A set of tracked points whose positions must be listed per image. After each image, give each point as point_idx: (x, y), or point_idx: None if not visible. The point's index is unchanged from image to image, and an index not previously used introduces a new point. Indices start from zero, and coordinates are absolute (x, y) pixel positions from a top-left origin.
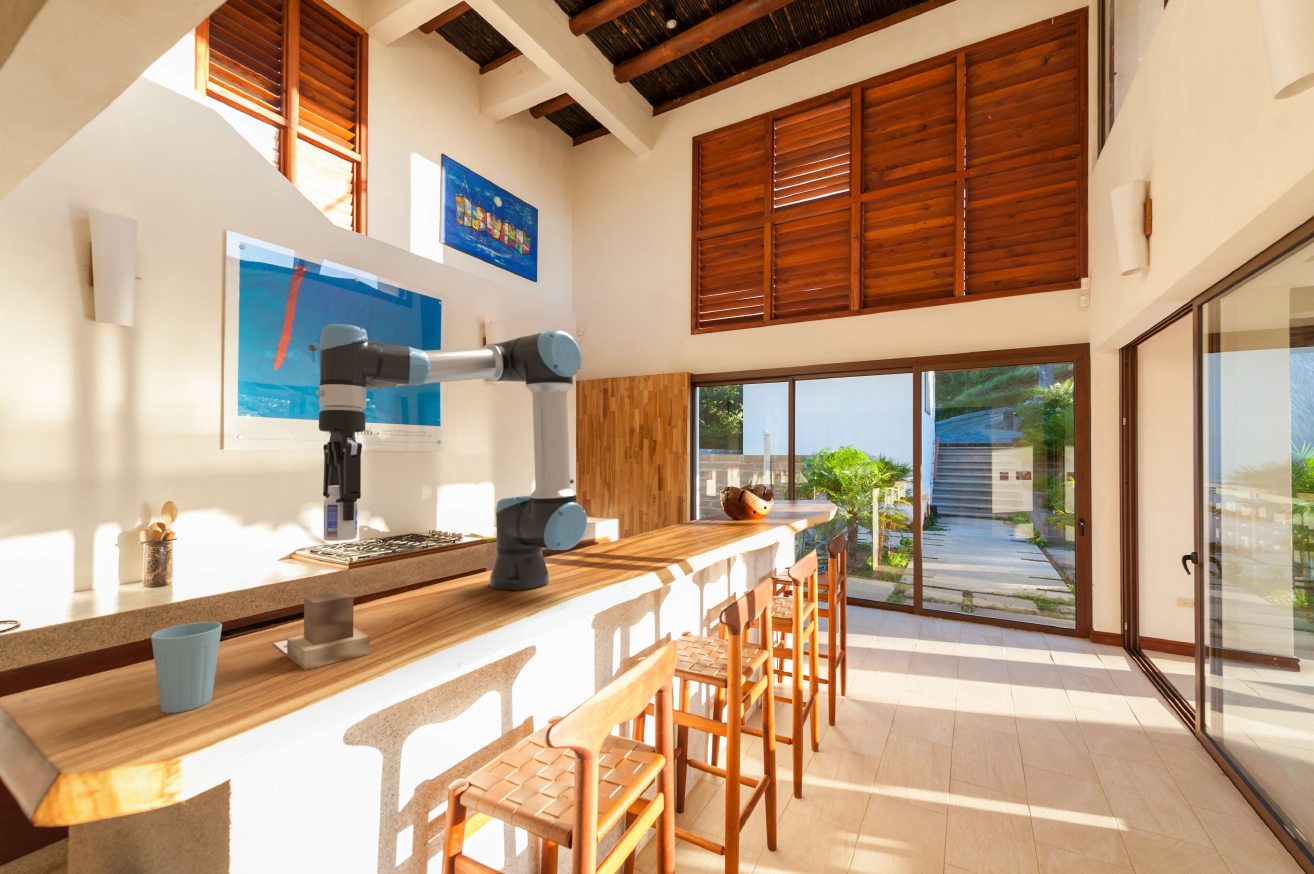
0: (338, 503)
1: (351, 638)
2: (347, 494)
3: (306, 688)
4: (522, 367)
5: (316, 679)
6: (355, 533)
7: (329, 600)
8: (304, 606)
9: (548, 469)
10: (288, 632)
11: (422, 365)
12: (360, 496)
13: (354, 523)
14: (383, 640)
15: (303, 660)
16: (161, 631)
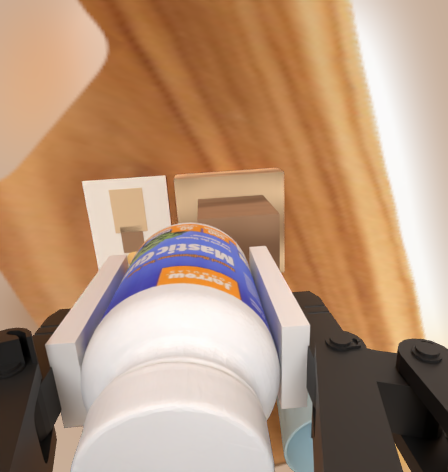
0: (294, 404)
1: (270, 200)
2: (444, 432)
3: (352, 270)
4: None
5: (329, 255)
6: (230, 240)
7: (279, 261)
8: None
9: None
10: (33, 245)
11: None
12: (444, 347)
13: (277, 271)
14: (216, 123)
15: None
16: (297, 470)
